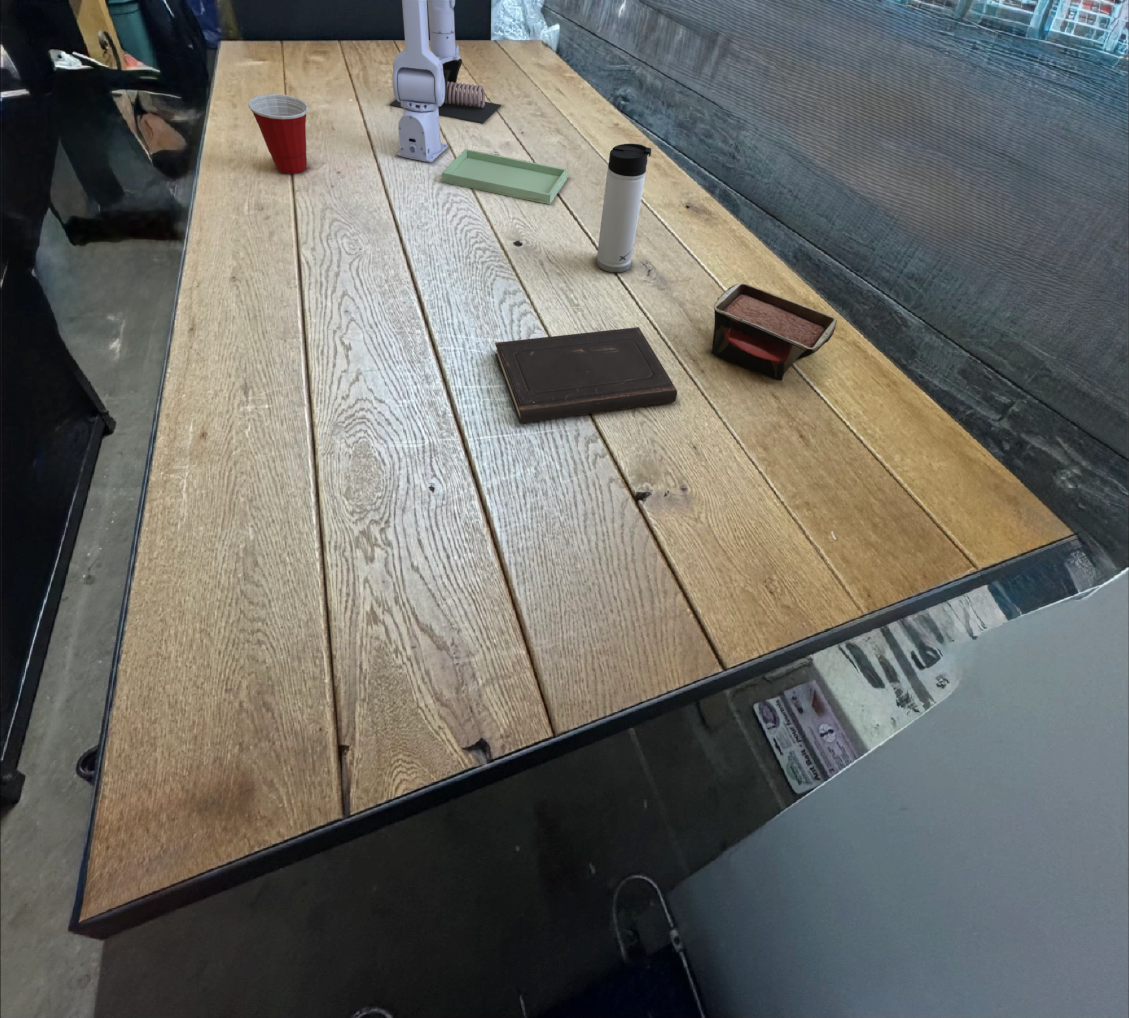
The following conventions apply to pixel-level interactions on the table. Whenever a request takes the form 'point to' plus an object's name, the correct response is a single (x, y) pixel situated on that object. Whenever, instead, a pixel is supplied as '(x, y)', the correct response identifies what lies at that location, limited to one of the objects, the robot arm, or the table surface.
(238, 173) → the table surface
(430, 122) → the robot arm
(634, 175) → the travel mug
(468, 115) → the mat
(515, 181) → the tray
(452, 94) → the coil
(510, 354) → the hardcover book
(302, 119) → the plastic cup
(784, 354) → the baking dish
